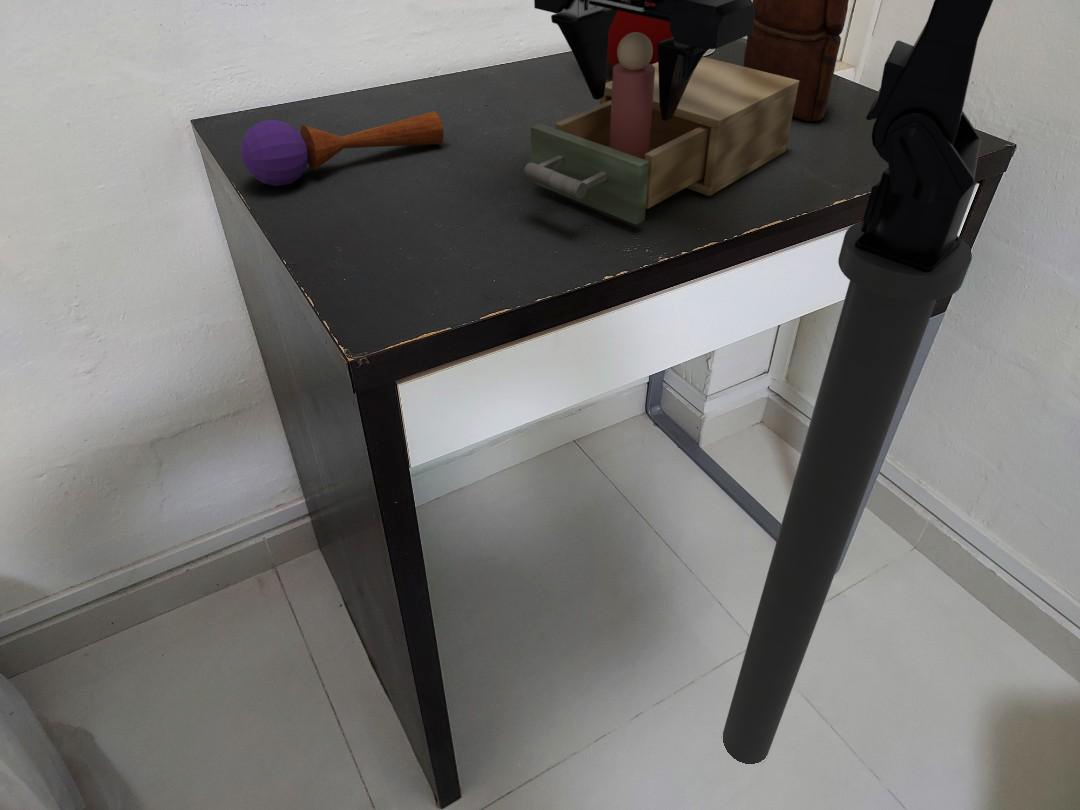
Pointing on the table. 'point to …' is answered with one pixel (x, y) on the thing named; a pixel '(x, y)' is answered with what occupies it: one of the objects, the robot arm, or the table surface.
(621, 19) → the ceramic cup
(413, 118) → the kendama
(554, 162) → the drawer
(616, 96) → the doll
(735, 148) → the cabinet
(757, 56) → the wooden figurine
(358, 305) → the table surface
